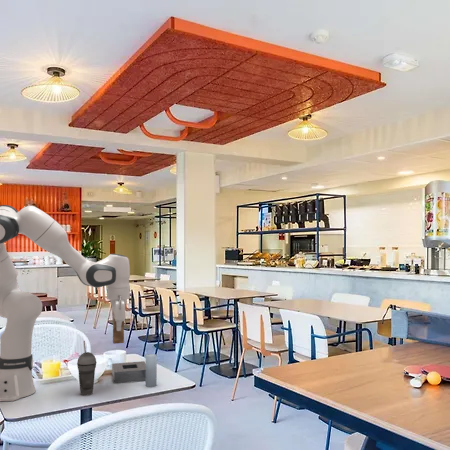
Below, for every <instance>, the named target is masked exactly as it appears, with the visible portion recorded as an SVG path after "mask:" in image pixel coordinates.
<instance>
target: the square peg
mask: <svg viewBox="0 0 450 450" xmlns="http://www.w3.org/2000/svg"><path fill="white" fill-rule="evenodd" d="M112 343H113V344H124V343H125V321H122V325H121V331H117V330H116V321H115V319H114V311H113V313H112Z"/></svg>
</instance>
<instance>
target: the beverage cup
mask: <svg viewBox="0 0 450 450" xmlns="http://www.w3.org/2000/svg"><path fill="white" fill-rule="evenodd" d="M86 348H87V347H86V340H83V349H84V352H82V353H81V354H80V355H79V356H78V358H77V363H76V365H77V370H78V381H79V392H80V396H91V395H93V393H94V386H95V385H94V384H95V373H96V368H97V358H96V356H95V355H94V354H93V353H92V352H89V351H88V352H87V351H86Z"/></svg>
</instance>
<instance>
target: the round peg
mask: <svg viewBox="0 0 450 450" xmlns="http://www.w3.org/2000/svg"><path fill="white" fill-rule="evenodd" d="M157 360H158V359H157V354H156V353H152V354H151V353H150V354H146V355H145V364H146V381H145V384H144V385H145V387H147V388H155V387H156V386H157V384H158V383H157V379H158V378H157V370H158V369H157V363H158V362H157Z"/></svg>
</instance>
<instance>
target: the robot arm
mask: <svg viewBox="0 0 450 450" xmlns="http://www.w3.org/2000/svg"><path fill="white" fill-rule="evenodd" d="M19 234H20V235H24V236H25V237H26V238H28V239H29V240H30V241H32V242H33V243H34V244H35V245H37V246H38V248H41V250H44V251H46V252H47V253H49V254H52V255H55V256H56V257H58V258H59V259H61V260H62V261H63V262H64V263H66V265H68V266H70V268H71V269H73V270H74V271H75V273H76V275H77V278H78V280H79V281H80V282H81V283H82V284H83V285H85V286H88V287H92V288H96V289H97V288H98V289H99V288H102V287H106V288H107V289H106V290H107V291H106V293H107V294H106V297H107V298H106V299H107V300H108V301H109V300H110V304H111V313H112V314H113V311H114V319H115V321H116V330H117V331H121V325H122V321H124V322H125V320H126V305H125V304H127V303H128V302H127V301H128V300H129V299H130V296H131V285H130V276H131V266H130V259H129V258H128V256H127V255H123V254H118V253H110V254H109V255H108V256H107V257H105V258H102V259H100V260H98V261H93V260H90V259H87V258H86V257H85V256H84V255H82V254H81V253H80V252H79V251H78V250H77V249H76V248H74V247H73V245H72V244H71V243H70V241H69V237H68V233H67V232H66V230H65V229H64V227H62V225H61V224H59V222H58V221H57V220H55V219H54V218H53V217H52V216H50V215H49V214H48V213H46V212H44V211H43V210H42V209H40V208H38V207H36V206H34V205H28V206H24V207H22V208H21V209H20V210H19V211H18V210H17V209H16V208H15V207H13V206H11V205H8V204H1V205H0V317H1V318H4V319H6V324H5V327H4V331H3V333H1V336H0V402H15V401H17V400H19V399H22V398H25V397H29V396H31V395H33V394H35V392H36V388H35V383H34V377H33V367H34V358H33V357H34V356H33V353H32V350H33V349H32V345H33V343H32V342H33V341H32V340H33V333H34V332H33V331H34V328H35V323H36V321H37V319H38V318H39V317H40V315H41V314H42V311H43V302H42V300H41V299H40V297H38V296H37V295H36V294H33V292H32V293H31V292H29V291H28V292H27V291H22V290H21V288H20V287H19V285H18V284H19V283H18V279H17V278H18V271H17V268H16V266H15V264H14V262H13V260H12V259H11V257H10V254H9V253H8V251H7V249H6V246H5V243H7V242H8V241H10V240H11V239H14V238H16V237H17V236H19Z"/></svg>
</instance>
